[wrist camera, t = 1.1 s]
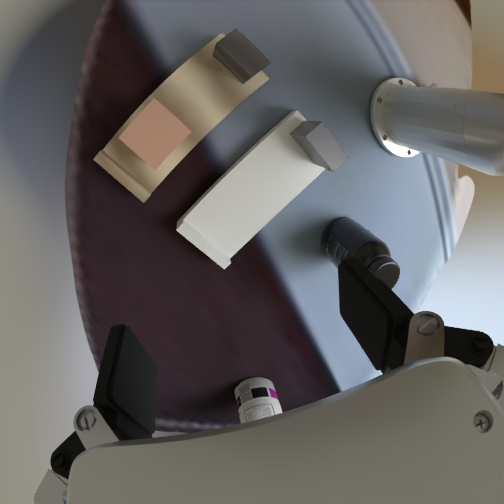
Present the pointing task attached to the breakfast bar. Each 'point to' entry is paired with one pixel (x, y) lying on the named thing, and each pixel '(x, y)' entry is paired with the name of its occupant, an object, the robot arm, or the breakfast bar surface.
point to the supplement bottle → (359, 249)
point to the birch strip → (191, 106)
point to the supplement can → (256, 399)
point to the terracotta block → (155, 133)
